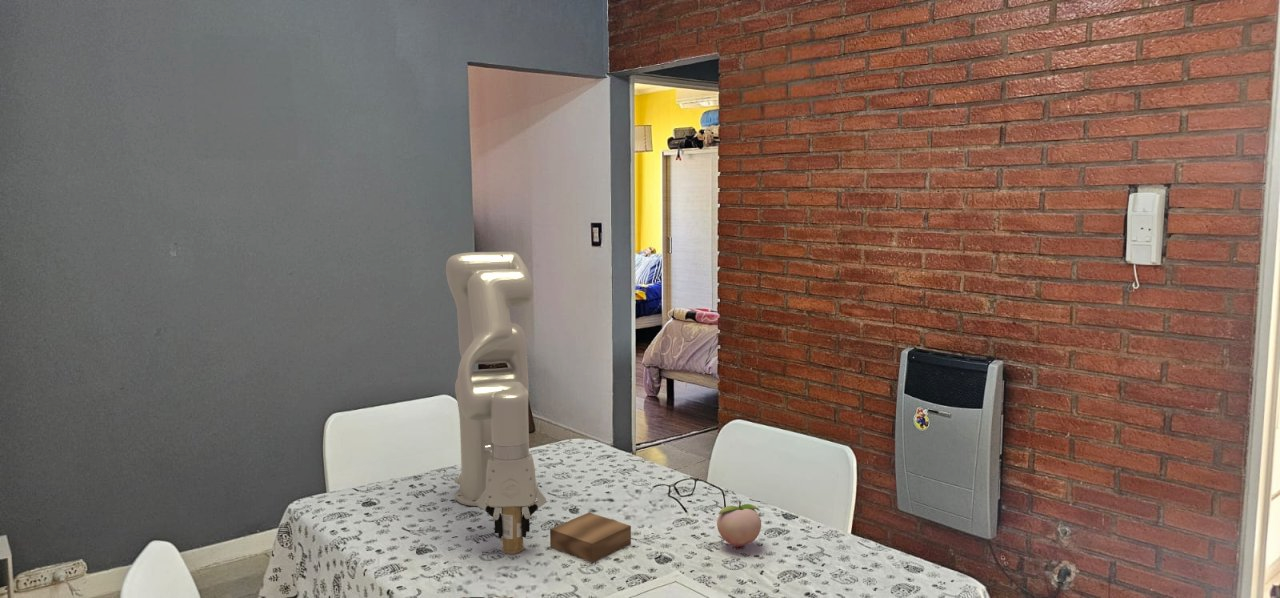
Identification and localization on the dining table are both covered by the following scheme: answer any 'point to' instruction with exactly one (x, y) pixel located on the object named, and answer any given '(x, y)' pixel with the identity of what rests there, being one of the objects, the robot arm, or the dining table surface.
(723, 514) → the decorative fruit
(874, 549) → the dining table surface
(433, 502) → the dining table surface
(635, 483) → the dining table surface
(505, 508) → the sprinkles bottle
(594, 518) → the walnut stand
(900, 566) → the dining table surface
